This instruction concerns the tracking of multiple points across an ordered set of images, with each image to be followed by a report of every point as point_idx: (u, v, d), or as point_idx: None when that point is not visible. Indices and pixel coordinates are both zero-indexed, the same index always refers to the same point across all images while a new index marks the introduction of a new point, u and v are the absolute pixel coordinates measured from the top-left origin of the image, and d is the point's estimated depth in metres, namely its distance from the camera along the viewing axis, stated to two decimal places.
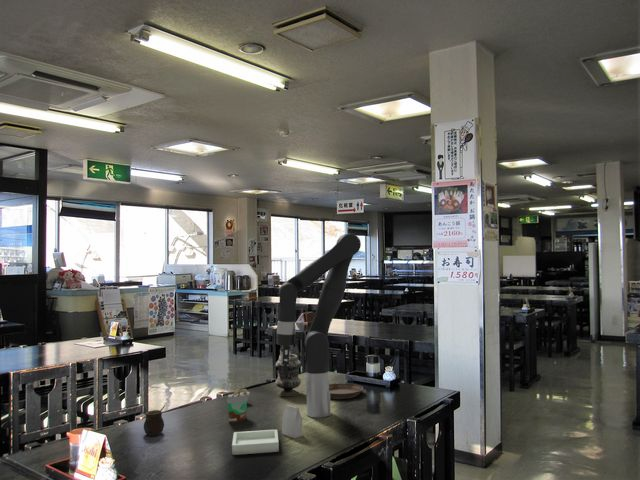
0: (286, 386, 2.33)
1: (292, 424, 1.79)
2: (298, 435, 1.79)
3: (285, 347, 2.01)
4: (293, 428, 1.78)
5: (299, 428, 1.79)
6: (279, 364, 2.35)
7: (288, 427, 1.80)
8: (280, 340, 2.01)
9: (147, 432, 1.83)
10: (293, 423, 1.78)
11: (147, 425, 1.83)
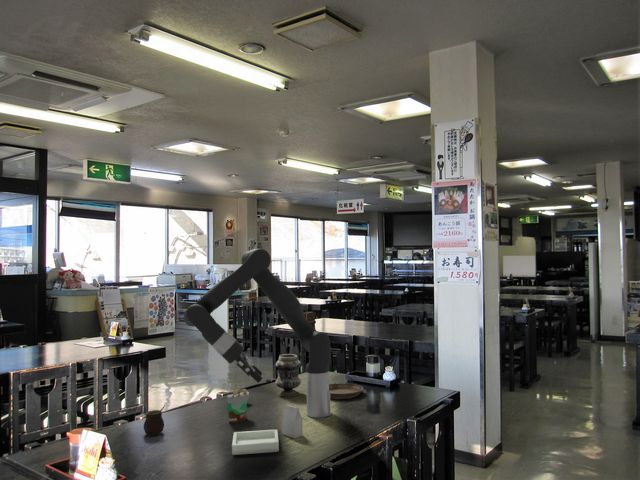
0: (286, 386, 2.33)
1: (292, 424, 1.79)
2: (298, 435, 1.79)
3: (238, 359, 1.79)
4: (293, 428, 1.78)
5: (299, 429, 1.79)
6: (279, 364, 2.35)
7: (288, 427, 1.80)
8: (228, 359, 1.79)
9: (147, 432, 1.83)
10: (293, 423, 1.78)
11: (147, 425, 1.83)
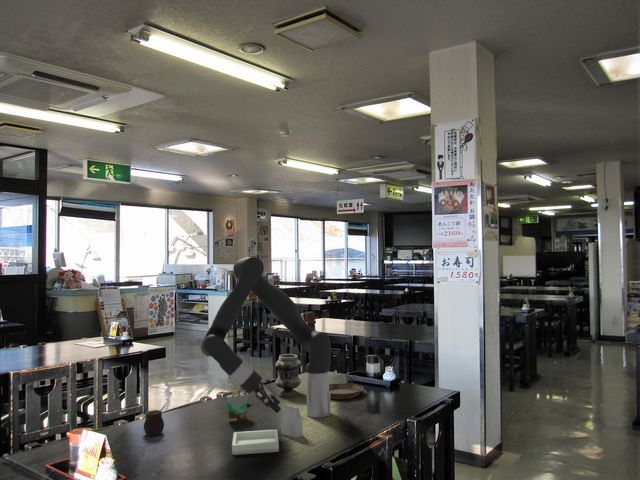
0: (286, 386, 2.33)
1: (292, 424, 1.79)
2: (298, 435, 1.79)
3: (256, 390, 1.77)
4: (293, 428, 1.78)
5: (299, 428, 1.79)
6: (279, 364, 2.35)
7: (288, 427, 1.80)
8: (246, 389, 1.77)
9: (147, 432, 1.83)
10: (293, 423, 1.78)
11: (147, 425, 1.83)
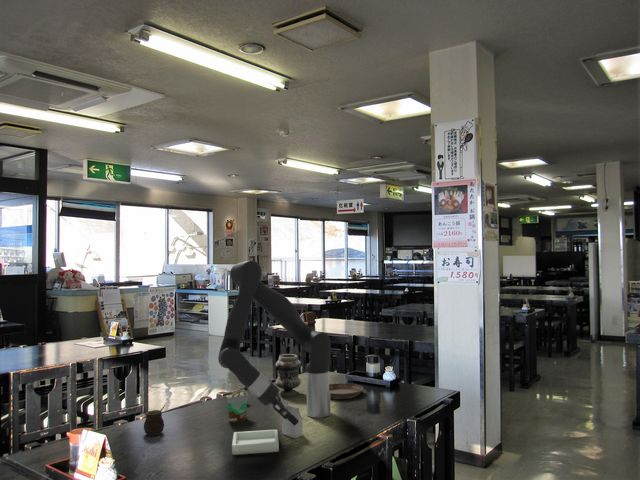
0: (286, 386, 2.33)
1: None
2: (298, 435, 1.79)
3: (273, 402, 1.78)
4: (293, 428, 1.78)
5: (299, 428, 1.79)
6: (279, 364, 2.35)
7: (288, 427, 1.80)
8: (264, 401, 1.78)
9: (147, 432, 1.83)
10: None
11: (147, 425, 1.83)
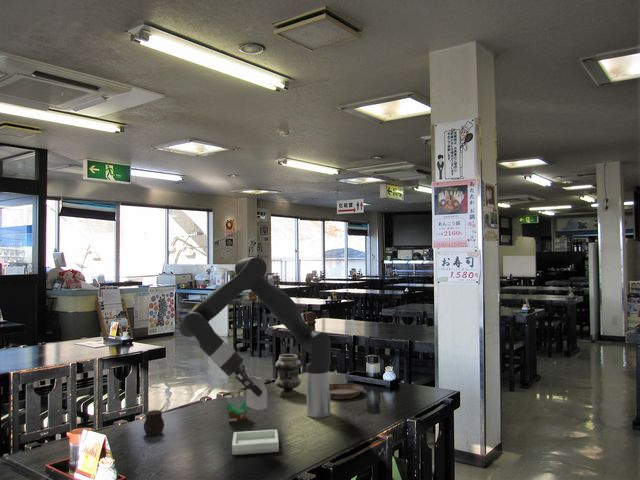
0: (286, 386, 2.33)
1: (256, 395, 1.69)
2: (262, 407, 1.70)
3: (237, 372, 1.68)
4: (257, 399, 1.69)
5: (263, 400, 1.70)
6: (279, 364, 2.35)
7: (252, 398, 1.71)
8: (227, 371, 1.69)
9: (147, 432, 1.83)
10: None
11: (147, 425, 1.83)
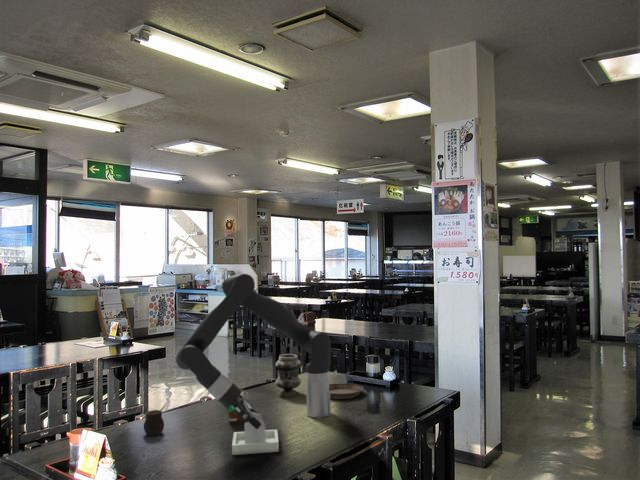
0: (286, 386, 2.33)
1: (254, 431, 1.68)
2: None
3: (235, 404, 1.67)
4: (255, 436, 1.68)
5: (261, 437, 1.69)
6: (279, 364, 2.35)
7: (250, 435, 1.70)
8: (225, 403, 1.68)
9: (147, 432, 1.83)
10: (255, 431, 1.68)
11: (147, 425, 1.83)
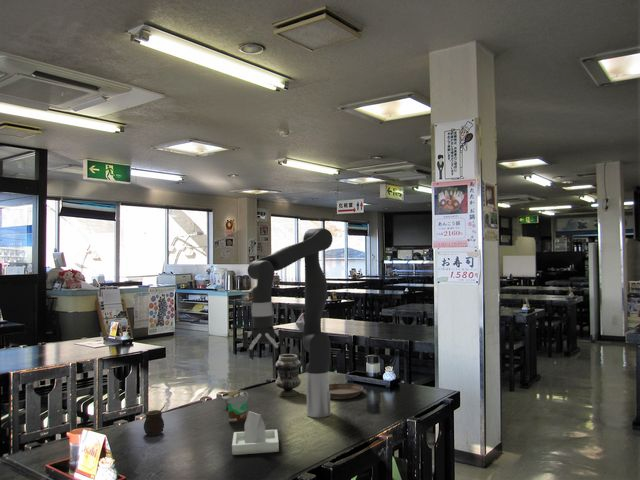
0: (286, 386, 2.33)
1: (254, 431, 1.68)
2: None
3: None
4: (255, 436, 1.68)
5: (261, 437, 1.69)
6: (279, 364, 2.35)
7: (250, 435, 1.70)
8: (270, 322, 1.86)
9: (147, 432, 1.83)
10: (255, 431, 1.68)
11: (147, 425, 1.83)
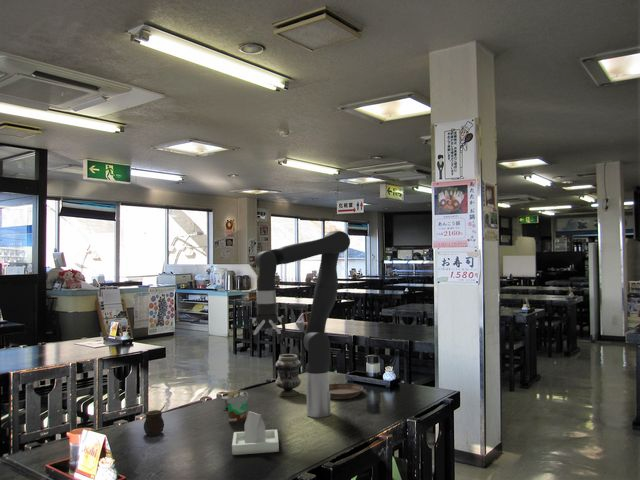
0: (286, 386, 2.33)
1: (254, 431, 1.68)
2: None
3: None
4: (255, 436, 1.68)
5: (261, 437, 1.69)
6: (279, 364, 2.35)
7: (250, 435, 1.70)
8: (274, 309, 1.96)
9: (147, 432, 1.83)
10: (255, 431, 1.68)
11: (147, 425, 1.83)
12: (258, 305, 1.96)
